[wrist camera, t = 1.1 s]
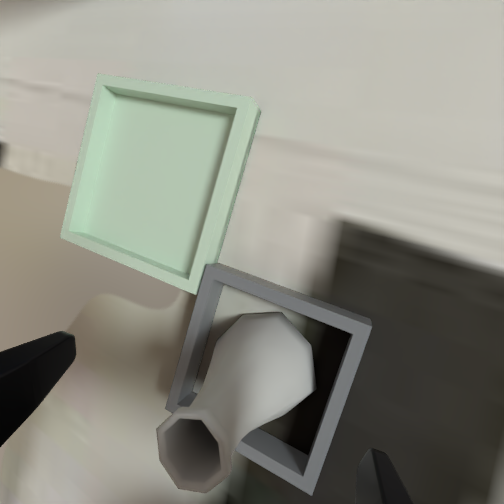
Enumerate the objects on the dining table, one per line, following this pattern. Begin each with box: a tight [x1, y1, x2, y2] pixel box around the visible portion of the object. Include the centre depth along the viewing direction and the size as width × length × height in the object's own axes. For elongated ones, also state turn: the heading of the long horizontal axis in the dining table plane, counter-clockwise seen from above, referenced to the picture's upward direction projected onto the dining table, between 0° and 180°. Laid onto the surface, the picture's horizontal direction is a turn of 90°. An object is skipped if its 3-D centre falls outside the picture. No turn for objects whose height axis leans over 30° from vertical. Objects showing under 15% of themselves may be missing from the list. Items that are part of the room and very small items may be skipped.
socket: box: [165, 263, 372, 496], centre depth 20 cm, size 11×11×2 cm
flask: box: [156, 312, 317, 493], centre depth 16 cm, size 7×7×10 cm
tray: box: [60, 73, 261, 295], centre depth 23 cm, size 14×14×2 cm
